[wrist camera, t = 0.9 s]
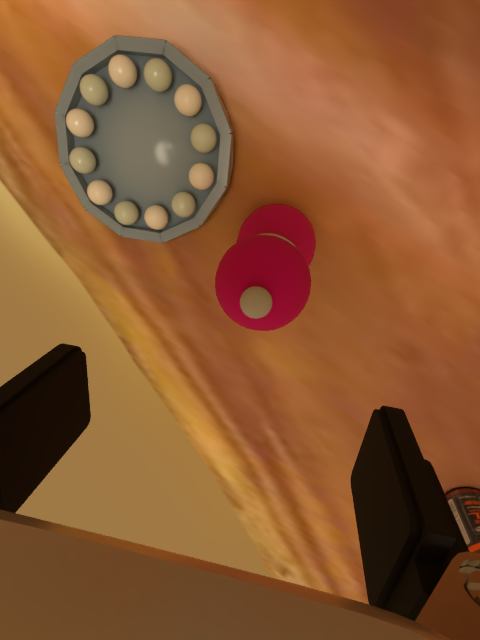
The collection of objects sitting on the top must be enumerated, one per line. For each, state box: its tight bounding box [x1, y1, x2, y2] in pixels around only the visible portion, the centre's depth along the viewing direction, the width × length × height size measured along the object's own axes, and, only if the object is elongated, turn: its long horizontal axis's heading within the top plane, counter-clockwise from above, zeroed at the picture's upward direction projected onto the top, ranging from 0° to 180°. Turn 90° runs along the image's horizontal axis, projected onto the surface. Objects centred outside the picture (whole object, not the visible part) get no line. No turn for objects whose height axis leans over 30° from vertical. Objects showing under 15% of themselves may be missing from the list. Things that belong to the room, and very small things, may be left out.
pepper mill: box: [215, 204, 316, 331], centre depth 27 cm, size 7×7×20 cm
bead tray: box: [55, 35, 234, 243], centre depth 33 cm, size 17×17×4 cm
